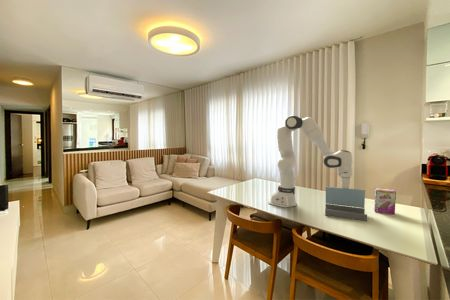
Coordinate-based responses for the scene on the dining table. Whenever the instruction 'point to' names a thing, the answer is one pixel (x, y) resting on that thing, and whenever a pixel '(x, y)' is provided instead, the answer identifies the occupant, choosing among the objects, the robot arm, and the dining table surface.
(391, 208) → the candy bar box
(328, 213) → the cable duct
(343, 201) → the panel
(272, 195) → the robot arm
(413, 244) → the dining table surface
